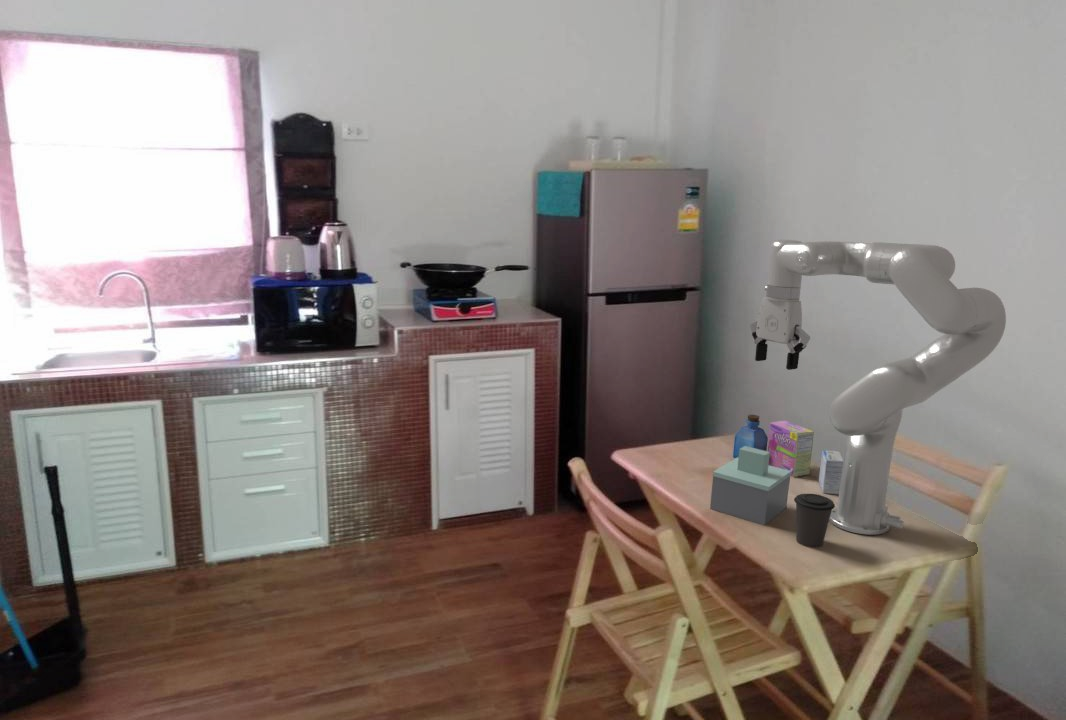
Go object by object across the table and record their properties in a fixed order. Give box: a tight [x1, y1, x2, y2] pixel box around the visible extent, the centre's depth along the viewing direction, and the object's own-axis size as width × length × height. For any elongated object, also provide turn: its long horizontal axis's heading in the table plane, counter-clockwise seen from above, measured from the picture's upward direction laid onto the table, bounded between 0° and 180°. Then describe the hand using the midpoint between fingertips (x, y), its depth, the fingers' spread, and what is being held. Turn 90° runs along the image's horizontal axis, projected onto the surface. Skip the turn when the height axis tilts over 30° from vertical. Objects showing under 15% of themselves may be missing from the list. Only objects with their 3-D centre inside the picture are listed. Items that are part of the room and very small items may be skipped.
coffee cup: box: [793, 493, 836, 548], centre depth 170 cm, size 8×8×10 cm
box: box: [767, 420, 815, 478], centre depth 213 cm, size 10×6×12 cm, turn 25°
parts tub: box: [709, 475, 791, 526], centre depth 187 cm, size 13×13×8 cm
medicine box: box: [818, 450, 844, 496], centre depth 201 cm, size 8×4×9 cm, turn 168°
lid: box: [712, 446, 791, 491], centre depth 185 cm, size 13×13×7 cm
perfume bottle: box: [732, 414, 769, 459], centre depth 220 cm, size 6×6×12 cm
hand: (775, 364), depth 194 cm, fingers open, 9 cm apart
